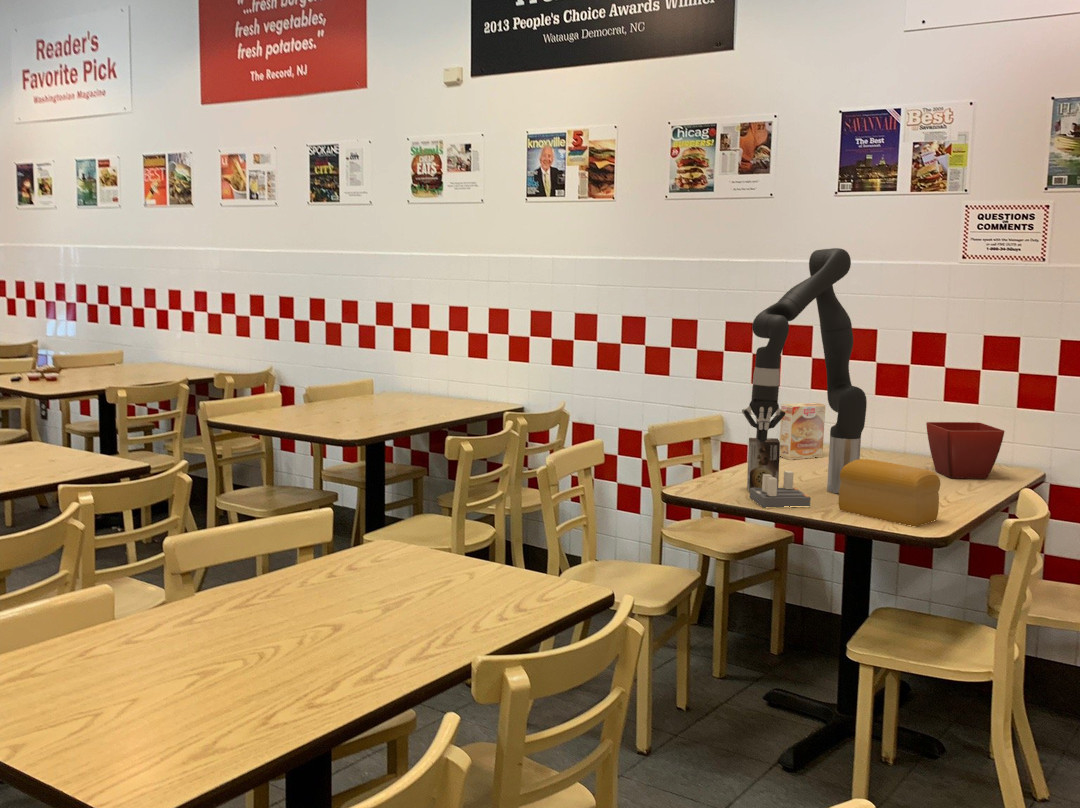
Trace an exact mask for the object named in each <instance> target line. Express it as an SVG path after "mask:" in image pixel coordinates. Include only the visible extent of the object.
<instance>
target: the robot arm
mask: <svg viewBox="0 0 1080 808" xmlns="http://www.w3.org/2000/svg"><path fill="white" fill-rule="evenodd" d="M851 261H852V260H851V256H850V254H849V252H848V251H847V250H845V249H844V248H838V247H837V248H836V247H833V248H823V249H822V248H821V249H817V250H814V251H813V252H812V253H811V254H810V257H809V260H808V271H809V275H810V276H809V277H808V278H806V279H805V280H803V281H801V282H799V283H798V284H796V285H794V286H792V287H791V288H790V289H789V290H788V291H787V292H786V293H785V294H783V296H782V297H780V299H778V301H777V302H776V303H773V304H772V305H770V306H768V307H767V308H765V309H764V310H762V311H761V312H759V313H758V314H757V315H756V316H755V317H754V319H753V322H752V325H751V330H752V332H753V334H754V335H755V336H756V337H758V338H761V339H768V342H767V345H766V346H765V345H764V346H761V347H758V348H757V349H756V351H755V352H756V353H755V361H754V370H753V377H752V387H751V388H752V389H751V390H752V391H751V401H750V402H749V406H748V407H746V408H744V409H742V410H741V413H742V415H744V417H745V419H746V420H747V422H748V423H749V425H750V426H751V427H753V428H755V429H756V436H755V438H756V439H757V440H758V442H760V443H765V441H766V440H767V438H768V432H769V430H771V429H775V427H776V426H777V425H778V424H779V423H780V422H781V419H782V418H783V417H784V416H785V414H786V413H785V412H783V411H782V410H781V407H780V406H779V392H780V383H781V380H780V378H781V374H780V368H781V355H782V352H783V351H784V350H783V349H784V347H785V344H786V341H787V338H788V335H789V331H790V324H789V322H792V321H794V320H795V319H796V318H797V317H798V316H799V315H800V314H801V313H802V312H803V311H804V310H805V309H806V308H807V306H809V304H811V303H812V302H813V301H814V300H815V301H816V306H817V312H818V319H819V327H820V335H821V336H820V337H821V343H822V348H823V355H824V363H825V368H826V369H825V371H826V389H827V391H826V393H827V394H826V396H827V402H828V405H829V407H830V408H831V410H832V411H834V412H835V413H837V418H836V422H835V424H834V425H832V426H831V427H830V430H829V431H830V432H829V447H828V449H829V450H828V451H829V452H828V464H827V465H828V466H827V479H826V480H827V482H826V490H827V492H829V491H830V492H829V493H832V494H838V493H839V489H840V484H841V481H840V472H841V470H842V468H843V467H844V466H845V465H847V464H848V463H850V462H852V461H854V460H857V459H861V444H862V433H863V430H864V428H865V422H866V414H867V405H868V403H867V395H866V393H865V392H864V390H863V389H862V388H860V387H858V386H854V385H852V381H851V375H850V367H849V366H850V360H851V356H852V352H853V347H854V334H853V333H854V332H853V326H852V320H851V318H850V316H849V314H848V312H847V311H846V309H845V308H844V307H843V305H842V304H841V302H840V301H839V299H838V297H837V295H836V292H835V290H834V284H836V283H837V282H839V281H841V280H842V279H843V278H844V277H845V276H847V274H848V273H849V271H850V269H851V265H852V264H851V263H852V262H851ZM752 413H753V414H754V416H755V420H754V418H753V417H752ZM774 414H775V416H774ZM772 417H773V418H772ZM771 418H772V419H771Z"/></svg>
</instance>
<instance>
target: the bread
mask: <svg viewBox="0 0 1080 808" xmlns="http://www.w3.org/2000/svg"><path fill="white" fill-rule="evenodd" d="M840 481H841V484H840V489H839V494H838V510H839V509H840V510H843V511H842V512H844V511H846V512H845V513H848V512H850V513H849V514H853V513H855V514H854V515H857V514H859V515H858V516H862V515H863V517H866V516H868V517H867V518H871V517H873V518H872V519H875V518H877V520H880V519H882V520H881V521H884V520H886V522H889V521H891V522H890V523H893V522H896V523H895V524H898V523H901V524H900V525H902V524H906V525H905V526H907V525H911V526H910V527H912V526H917V527H919V526H918V525H921V524H924V525H926V524H925V523H927V524H929V523H928V522H931V521H934V520H936V521H937V519H938V516H939V515H938V514H939V510H940V509H939V507H940V495H939V491H940V488H941V479H940V476H938V475H937V474H936V473H935V472H934V471H931V470H928V469H926V468H925V469H924V468H920V467H916V466H910V465H909V466H908V465H904V464H898V463H892V462H887V461H881V460H877V459H876V460H875V459H868V458H860V459H857V460H854V461H852V462H850V463H848V464H847V465H845V466H844V467H843V468H842V470H841V472H840ZM840 510H839V511H840ZM934 522H935V521H934ZM931 523H932V522H931ZM921 526H922V525H921Z"/></svg>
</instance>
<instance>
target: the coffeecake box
mask: <svg viewBox="0 0 1080 808" xmlns="http://www.w3.org/2000/svg"><path fill="white" fill-rule="evenodd" d="M826 406H827V405H826V404H823V403H818V402H801V403H800V402H797V403H782V404H781V407H780V409H781V410H782V411H783V412H785V413H786V414H785V416H784V417H783V418H782V419H781V420H780V421H779V423H780V424H779V426H780V427H779V439H778V440H779V442H780V454H779V456H781V457H780V458H782V457H783V458H782V459H785V458H786V459H785V460H788V459H790V460H789V461H791V460H792V461H793V459H796V460H806V459H805V458H808V459H816V458H815V457H822V458H823V454H824V453H823V452H824V451H823V450H824V437H825V435H824V434H825V421H826V420H825V419H826Z"/></svg>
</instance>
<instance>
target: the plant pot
mask: <svg viewBox="0 0 1080 808" xmlns="http://www.w3.org/2000/svg"><path fill="white" fill-rule="evenodd" d="M926 432H927V433H926V434H927V439H928V440H927V441H928V447H929V450H930V454H931V455H930V456H931V459H932V462H933V466H934V468H935V472H937V473H939V474H941V475H943V476H945V477H948V478H950V479H984V480H985V479H988V478H989V476H990V474H991V472H992V470H993V468H994V466H995V463H996V461H997V459H998V457H999V453H1000V450H1001V447H1002V443H1003V441H1004V440H1003V439H1004V436H1005V432H1006V431H1005V430H1003V429H1001V428H997V427H994V426H991V425H989V424H985V423H982V422H979V421H978V422H977V421H975V422H974V421H973V422H972V421H971V422H968V421H967V422H965V421H964V422H962V421H945V422H944V421H927V422H926Z"/></svg>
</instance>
